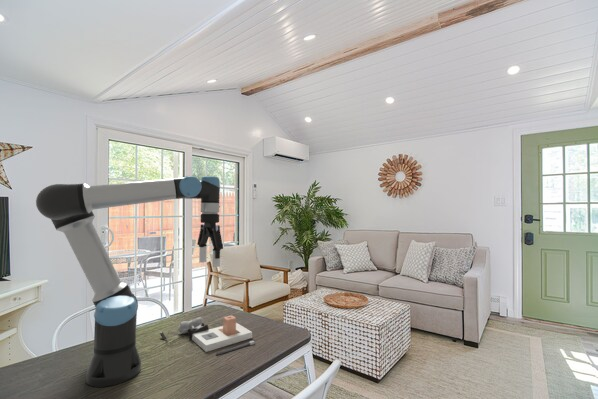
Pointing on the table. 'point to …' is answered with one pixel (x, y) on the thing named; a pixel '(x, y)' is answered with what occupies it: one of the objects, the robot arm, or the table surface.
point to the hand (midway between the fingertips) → (209, 264)
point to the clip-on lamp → (189, 327)
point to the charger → (229, 325)
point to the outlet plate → (220, 337)
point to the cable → (236, 347)
